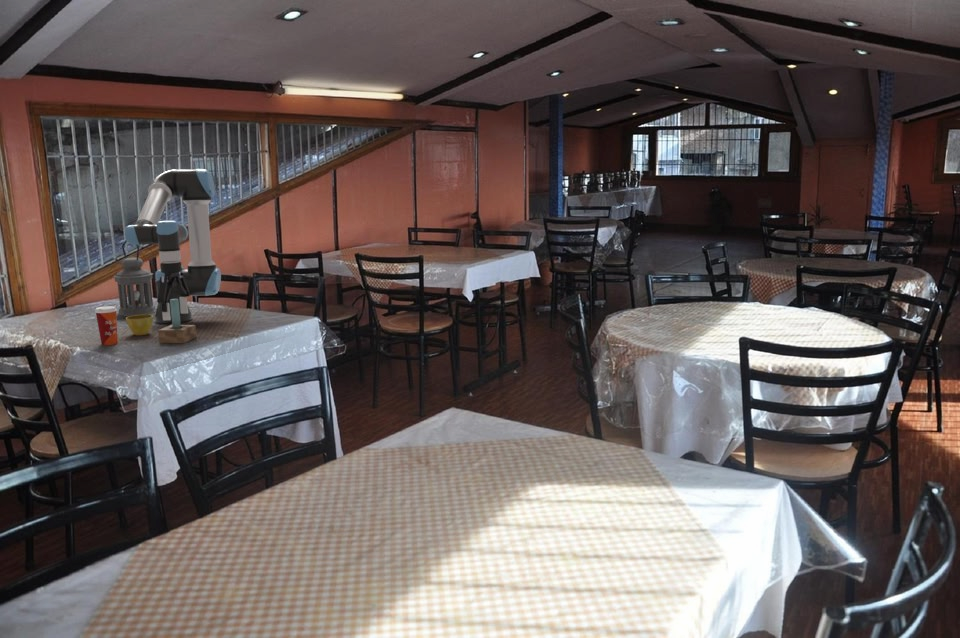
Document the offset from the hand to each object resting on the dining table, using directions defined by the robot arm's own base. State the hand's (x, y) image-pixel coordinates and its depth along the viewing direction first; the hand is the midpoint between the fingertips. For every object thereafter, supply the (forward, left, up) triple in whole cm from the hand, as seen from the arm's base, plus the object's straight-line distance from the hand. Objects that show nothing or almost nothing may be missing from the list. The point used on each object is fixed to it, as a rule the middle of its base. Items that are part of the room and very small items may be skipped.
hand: (175, 316), depth 304 cm
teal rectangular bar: (0, 0, -9) cm, 9 cm away
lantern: (-55, -49, -9) cm, 74 cm away
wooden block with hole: (0, 0, -9) cm, 9 cm away
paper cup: (+7, -24, -9) cm, 27 cm away
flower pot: (-10, -21, -9) cm, 25 cm away
